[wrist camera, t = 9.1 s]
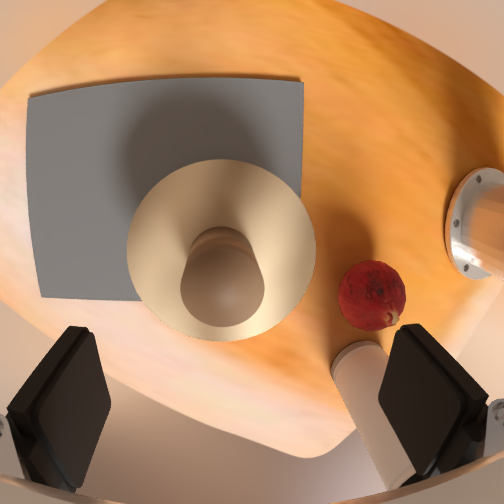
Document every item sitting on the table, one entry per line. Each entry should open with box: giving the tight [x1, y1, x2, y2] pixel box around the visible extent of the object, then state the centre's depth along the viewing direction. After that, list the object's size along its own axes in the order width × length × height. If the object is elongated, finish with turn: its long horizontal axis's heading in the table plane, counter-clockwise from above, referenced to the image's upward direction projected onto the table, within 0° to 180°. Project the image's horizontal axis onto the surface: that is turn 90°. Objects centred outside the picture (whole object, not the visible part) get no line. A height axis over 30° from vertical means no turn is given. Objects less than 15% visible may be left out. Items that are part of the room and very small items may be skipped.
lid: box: [127, 159, 316, 342], centre depth 18 cm, size 12×12×6 cm
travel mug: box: [331, 341, 424, 491], centre depth 23 cm, size 6×7×20 cm
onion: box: [338, 260, 406, 331], centre depth 26 cm, size 6×6×8 cm
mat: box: [26, 78, 304, 301], centre depth 25 cm, size 24×19×1 cm
